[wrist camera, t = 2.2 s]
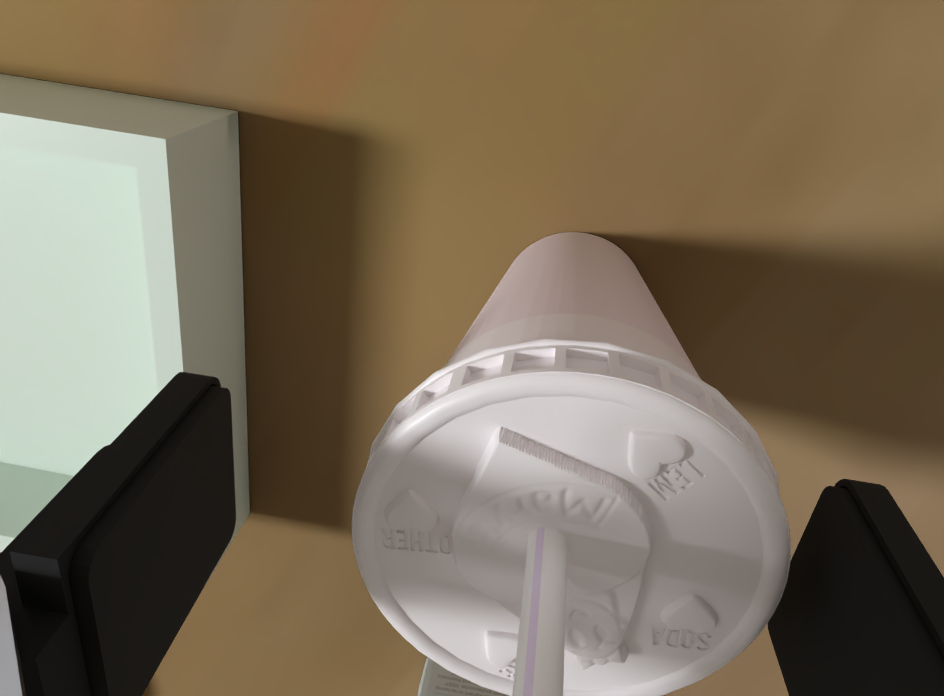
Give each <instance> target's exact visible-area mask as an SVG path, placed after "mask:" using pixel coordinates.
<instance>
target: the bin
mask: <svg viewBox="0 0 944 696" xmlns="http://www.w3.org/2000/svg"><path fill="white" fill-rule="evenodd" d="M179 372H188V373H194V374H200V375H206V376H212V377H216V378H218V379H219V381H220V384H221V387H223V388H228V389H229V391H230V394H231V409H232V433H233V456H234V479H235V502H236V524H235V529H234V533H233V535H232V538H231V540H230V542H229V544H228V546H227V547H226V549H225V551H224V553H223V554H222V556H221V558H220V560H221V559H222V557H223V556H224V554H225V552H226V551H227V549H228V547H229V546H230V544H231V543H232V541H233V539H234V538H235V536H236V535H237V533H238V531H239V530H240V528H241V527H242V525H243V523H244V522H245V520H246V519H247V517H248V515H249V514H250V502H249V468H248V434H247V400H246V367H245V333H244V299H243V265H242V231H241V198H240V164H239V130H238V111H234V110H228V109H221V108H215V107H209V106H202V105H196V104H190V103H183V102H177V101H170V100H164V99H158V98H151V97H145V96H139V95H132V94H126V93H120V92H113V91H107V90H101V89H94V88H88V87H81V86H75V85H69V84H62V83H56V82H50V81H43V80H37V79H31V78H24V77H18V76H12V75H5V74H0V552H2V551H3V550H4V549H5V548H6V547H7V546H8V545H9V544H10V543H11V542H12V541H13V540H14V539H15V538H16V536H17V535H18V534H19V533H20V532H21V531H22V530H23V529H24V528H25V527H26V526H27V525H28V524H29V523H30V522H31V521H32V520H33V519H34V518H35V517H36V516H37V514H38V513H39V512H40V511H41V510H42V509H43V508H44V507H45V506H46V505H47V504H48V503H49V502H50V501H51V500H52V499H53V498H54V497H55V496H56V495H57V494H58V492H59V491H60V490H61V489H62V488H63V487H64V486H65V485H66V484H67V483H68V482H69V481H70V480H71V479H72V478H73V477H74V476H75V475H76V474H77V473H78V472H79V470H80V469H81V468H82V467H83V466H84V465H85V464H86V463H87V462H88V461H89V460H90V459H91V458H92V457H93V456H94V455H95V454H96V453H97V452H98V451H99V450H100V449H102V448H103V447H104V446H107V445H110V444H111V443H112V442H113V441H114V440H115V439H116V438H117V437H118V436H119V435H120V434H121V432H122V431H123V430H124V429H125V428H126V427H127V426H128V425H129V424H130V423H131V422H132V421H133V420H134V419H135V418H136V417H137V415H138V414H139V413H140V412H141V411H142V410H143V409H144V408H145V407H146V406H147V405H148V404H149V403H150V402H151V401H152V400H153V398H154V397H155V396H156V395H157V394H158V393H159V392H160V391H161V390H162V389H163V388H164V387H165V386H166V385H167V384H168V383H169V381H170V380H171V379H172V378H173V377H174V376H175V375H176V374H178V373H179ZM220 560H219V561H218V563H217V565H218V564H219V562H220ZM217 565H216V567H217ZM216 567H215V568H216ZM215 568H214V570H215ZM214 570H213V572H214ZM213 572H212V573H213ZM211 575H212V574H211ZM211 575H210V576H211ZM209 578H210V577H209ZM208 580H209V579H208ZM206 583H207V582H206Z"/></svg>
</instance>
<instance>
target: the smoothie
mask: <svg viewBox="0 0 944 696" xmlns="http://www.w3.org/2000/svg"><path fill="white" fill-rule="evenodd" d="M352 541H353V547H354V553H355V558H356V561H357V565H358V568H359V571H360V574H361V576H362V579H363V581H364V583H365V586H366V588H367V590H368V591H369V593H370V595H371V597H372V599H373V600H374V602H375V603H376V605H377V606H378V608H379V609H380V611H381V612H382V614H383V615H384V616H385V617H386V618H387V620H388V621H389V622H390V623H391V625H392V626H393V627H394V628H395V629H396V630H397V631H398V632H399V633H400V634H401V635H402V636H403V637H404V638H405V639H406V640H407V641H408V642H410V643H411V644H412V645H413V646H414V647H415V648H416V649H417V650H418V651H420V652H421V653H423V654H424V655H426V656H427V657H429V658H430V659H431V660H433V661H435V662H436V663H437V664H439V665H440V666H442V667H443V668H445V669H446V670H448V671H450V672H452V673H454V674H456V675H458V676H460V677H462V678H464V679H467V680H469V681H471V682H473V683H475V684H477V685H479V686H481V687H484V688H488V689H491V690H494V691H497V692H500V693H503V694H506V695H509V696H662V695H665V694H667V693H670V692H673V691H675V690H678V689H680V688H683V687H686V686H688V685H691V684H693V683H696V682H698V681H699V680H701V679H703V678H705V677H706V676H708V675H710V674H712V673H714V672H715V671H717V670H718V669H720V668H721V667H723V666H725V665H726V664H728V663H729V662H730V661H731V660H733V659H734V658H735V657H736V656H738V655H739V654H740V653H741V652H742V651H744V650H745V649H746V648H747V647H748V646H749V645H750V644H751V643H752V642H753V641H754V640H755V638H756V637H757V636H758V635H759V634H760V632H761V631H762V630H763V629H764V627H765V626H766V625H767V623H768V621H769V620H770V618H771V617H772V615H773V614H774V612H775V610H776V608H777V606H778V604H779V602H780V600H781V598H782V595H783V592H784V589H785V586H786V583H787V578H788V573H789V568H790V557H791V542H790V530H789V526H788V521H787V517H786V512H785V510H784V507H783V504H782V501H781V499H780V496H779V487H778V478H777V473H776V471H775V469H774V467H773V465H772V463H771V461H770V459H769V457H768V455H767V453H766V451H765V449H764V447H763V445H762V443H761V440H760V438H759V436H758V434H757V432H756V430H755V429H754V428H753V427H752V426H751V425H750V424H749V423H748V421H747V420H746V419H745V418H744V417H743V416H742V415H741V414H740V413H739V412H738V411H737V410H736V409H735V408H734V407H733V406H732V405H731V404H730V403H729V402H728V401H727V399H726V398H725V397H724V396H723V395H722V394H721V393H720V392H719V391H718V390H717V389H715V388H713V387H712V386H710V385H708V384H707V383H705V382H703V381H702V380H701V379H700V377H699V376H698V374H697V372H696V370H695V369H694V367H693V365H692V363H691V362H690V360H689V358H688V357H687V355H686V353H685V351H684V350H683V348H682V346H681V344H680V343H679V341H678V339H677V337H676V336H675V334H674V332H673V331H672V329H671V327H670V325H669V324H668V322H667V320H666V318H665V317H664V315H663V313H662V311H661V310H660V308H659V306H658V305H657V303H656V301H655V299H654V298H653V296H652V294H651V292H650V291H649V289H648V287H647V285H646V284H645V282H644V280H643V278H642V277H641V275H640V273H639V272H638V270H637V268H636V266H635V265H634V263H633V262H632V260H631V259H630V258H629V257H628V256H627V254H626V253H625V252H624V251H622V250H621V249H620V248H619V247H618V246H616V245H615V244H613V243H611V242H610V241H608V240H606V239H604V238H601V237H599V236H595V235H592V234H587V233H580V232H566V233H559V234H554V235H551V236H547V237H545V238H543V239H540V240H538V241H536V242H535V243H533V244H532V245H530V246H529V247H527V248H526V249H525V250H524V251H523V252H522V253H520V254H519V255H518V257H517V258H516V259H515V260H514V262H513V263H512V265H511V266H510V268H509V269H508V271H507V272H506V274H505V275H504V277H503V278H502V280H501V281H500V283H499V284H498V286H497V287H496V289H495V290H494V292H493V294H492V295H491V297H490V298H489V300H488V301H487V303H486V304H485V306H484V307H483V309H482V310H481V312H480V313H479V315H478V316H477V318H476V319H475V321H474V322H473V324H472V325H471V327H470V328H469V330H468V331H467V333H466V335H465V336H464V338H463V339H462V341H461V342H460V344H459V345H458V347H457V348H456V350H455V351H454V353H453V354H452V356H451V357H450V359H449V360H448V362H447V363H446V365H445V366H444V367H443V369H441V370H438V371H436V372H434V373H433V374H432V375H431V376H430V377H429V378H427V379H426V380H425V381H424V382H423V383H422V384H420V385H419V386H418V387H417V388H416V389H414V390H413V391H412V392H411V393H410V394H409V395H407V396H406V397H405V398H404V399H403V400H402V401H400V402H399V403H398V404H397V405H396V406H395V408H394V410H393V411H392V413H391V414H390V416H389V418H388V419H387V421H386V422H385V424H384V426H383V427H382V429H381V430H380V432H379V434H378V435H377V437H376V438H375V440H374V442H373V443H372V446H371V450H370V455H369V459H368V463H367V467H366V469H365V472H364V474H363V476H362V479H361V481H360V484H359V487H358V490H357V493H356V497H355V502H354V507H353V516H352Z"/></svg>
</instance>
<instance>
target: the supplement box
mask: <svg viewBox="0 0 944 696" xmlns="http://www.w3.org/2000/svg"><path fill="white" fill-rule="evenodd" d="M417 696H509V695H506V694H503V693H500V692H497V691H494V690H491V689H488V688H484V687H481V686H479V685H477V684H475V683H473V682H471V681H469V680H467V679H464V678H462V677H460V676H458V675H456V674H454V673H452V672H450V671H448V670H446V669H445V668H443V667H442V666H440V665H439V664H437V663H436V662H435V661H433V660H431V659H430V658H429V657H428V658H427V659H426V663H425V666H424V670H423V674H422V679H421V683H420V687H419V691H418V695H417Z"/></svg>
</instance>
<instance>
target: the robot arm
mask: <svg viewBox="0 0 944 696" xmlns="http://www.w3.org/2000/svg"><path fill="white" fill-rule="evenodd" d="M235 524H236V502H235V479H234V456H233V433H232V409H231V394H230V391H229V389H228V388H223V387H221V384H220V381H219V379H218V378H216V377H212V376H206V375H200V374H194V373H188V372H179V373H178V374H176V375H175V376H174V377H173V378H172V379H171V380H170V381H169V383H168V384H167V385H166V386H165V387H164V388H163V389H162V390H161V391H160V392H159V393H158V394H157V395H156V396H155V397H154V398H153V400H152V401H151V402H150V403H149V404H148V405H147V406H146V407H145V408H144V409H143V410H142V411H141V412H140V413H139V414H138V415H137V417H136V418H135V419H134V420H133V421H132V422H131V423H130V424H129V425H128V426H127V427H126V428H125V429H124V430H123V431H122V432H121V434H120V435H119V436H118V437H117V438H116V439H115V440H114V441H113V442H112V443H111V444H110V445H107V446H104V447H103V448H102V449H100V450H99V451H98V452H97V453H96V454H95V455H94V456H93V457H92V458H91V459H90V460H89V461H88V462H87V463H86V464H85V465H84V466H83V467H82V468H81V469H80V470H79V472H78V473H77V474H76V475H75V476H74V477H73V478H72V479H71V480H70V481H69V482H68V483H67V484H66V485H65V486H64V487H63V488H62V489H61V490H60V491H59V492H58V494H57V495H56V496H55V497H54V498H53V499H52V500H51V501H50V502H49V503H48V504H47V505H46V506H45V507H44V508H43V509H42V510H41V511H40V512H39V513H38V514H37V516H36V517H35V518H34V519H33V520H32V521H31V522H30V523H29V524H28V525H27V526H26V527H25V528H24V529H23V530H22V531H21V532H20V533H19V534H18V535H17V536H16V538H15V539H14V540H13V541H12V542H11V543H10V544H9V545H8V546H7V547H6V548H5V549H4V550H3V551H2V552H1V553H0V696H142V694H143V693H144V691H145V689H146V687H147V686H148V684H149V682H150V680H151V679H152V677H153V675H154V673H155V672H156V670H157V668H158V666H159V665H160V663H161V661H162V659H163V658H164V656H165V654H166V652H167V651H168V649H169V647H170V645H171V644H172V642H173V640H174V638H175V637H176V635H177V633H178V631H179V630H180V628H181V626H182V624H183V623H184V621H185V619H186V617H187V616H188V614H189V612H190V610H191V609H192V607H193V605H194V603H195V602H196V600H197V598H198V596H199V595H200V593H201V591H202V589H203V588H204V586H205V584H206V582H207V581H208V579H209V577H210V575H211V574H212V572H213V570H214V568H215V567H216V565H217V563H218V561H219V560H220V558H221V556H222V554H223V553H224V551H225V549H226V547H227V546H228V544H229V542H230V540H231V538H232V535H233V533H234V529H235ZM768 630H769V634H770V637H771V640H772V643H773V646H774V650H775V653H776V656H777V659H778V662H779V665H780V668H781V671H782V675H783V678H784V681H785V684H786V687H787V690H788V693H789V696H944V577H943V576H942V574H941V573H940V571H939V569H938V568H937V566H936V565H935V563H934V562H933V560H932V558H931V557H930V555H929V554H928V552H927V551H926V549H925V547H924V546H923V544H922V543H921V541H920V540H919V538H918V537H917V535H916V533H915V532H914V530H913V529H912V527H911V526H910V524H909V522H908V521H907V519H906V518H905V516H904V515H903V513H902V511H901V510H900V508H899V507H898V505H897V504H896V502H895V500H894V499H893V497H892V496H891V494H890V493H889V491H888V490H887V489H886V488H885V487H884V486H882V485H879V484H873V483H867V482H861V481H855V480H848V479H842V480H840V481H838V482H837V483H836V485H835V486H834V487H833V486H828V487H826V488H825V489H824V490H823V492H822V493H821V496H820V498H819V500H818V502H817V504H816V507H815V509H814V511H813V513H812V515H811V518H810V520H809V522H808V524H807V526H806V529H805V531H804V533H803V535H802V538H801V540H800V542H799V544H798V546H797V549H796V551H795V553H794V555H793V557H792V560H791V562H790V568H789V573H788V578H787V583H786V586H785V589H784V592H783V595H782V598H781V600H780V602H779V604H778V606H777V608H776V610H775V612H774V614H773V615H772V617H771V618H770V620H769V621H768Z"/></svg>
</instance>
